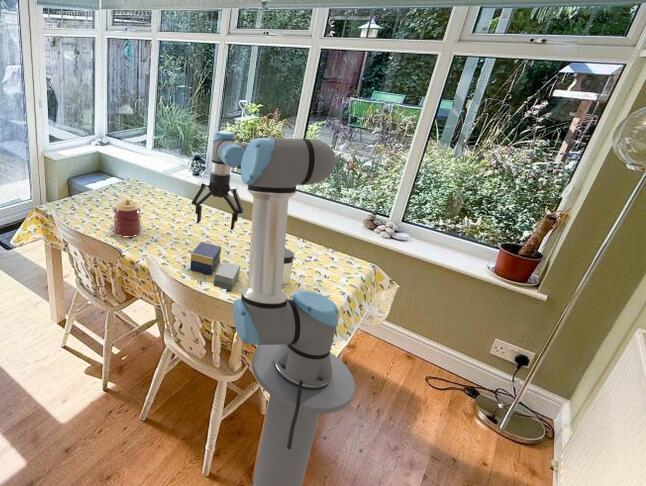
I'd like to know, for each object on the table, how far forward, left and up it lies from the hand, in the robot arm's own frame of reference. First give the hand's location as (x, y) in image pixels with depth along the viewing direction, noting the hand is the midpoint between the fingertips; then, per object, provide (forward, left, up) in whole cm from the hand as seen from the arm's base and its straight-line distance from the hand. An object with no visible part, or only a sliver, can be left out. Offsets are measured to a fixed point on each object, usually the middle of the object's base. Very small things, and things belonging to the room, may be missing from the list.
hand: (215, 225), depth 161 cm
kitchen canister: (+15, +47, -20) cm, 53 cm away
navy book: (+2, +3, -15) cm, 16 cm away
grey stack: (-5, -8, -20) cm, 22 cm away
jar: (+7, -26, -20) cm, 34 cm away
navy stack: (+2, +3, -20) cm, 21 cm away
